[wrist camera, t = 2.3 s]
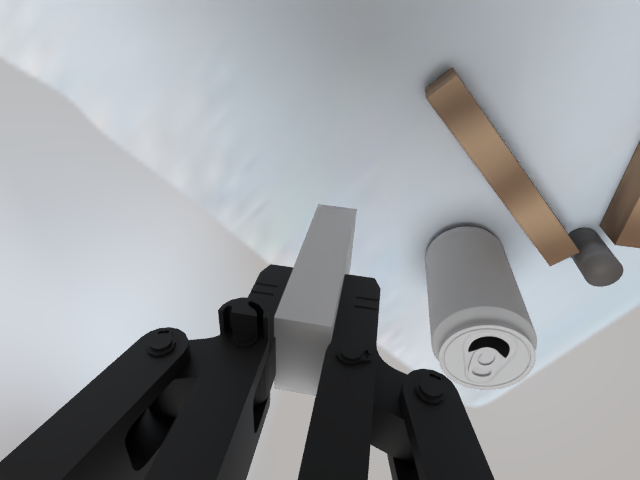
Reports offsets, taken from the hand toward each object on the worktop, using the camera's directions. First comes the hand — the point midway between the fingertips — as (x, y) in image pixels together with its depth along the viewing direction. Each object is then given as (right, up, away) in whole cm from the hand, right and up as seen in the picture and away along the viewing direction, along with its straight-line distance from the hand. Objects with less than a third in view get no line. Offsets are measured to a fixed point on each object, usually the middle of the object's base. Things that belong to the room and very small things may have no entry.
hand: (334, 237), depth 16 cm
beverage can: (+12, -1, +19) cm, 23 cm away
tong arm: (+13, +5, +14) cm, 20 cm away
